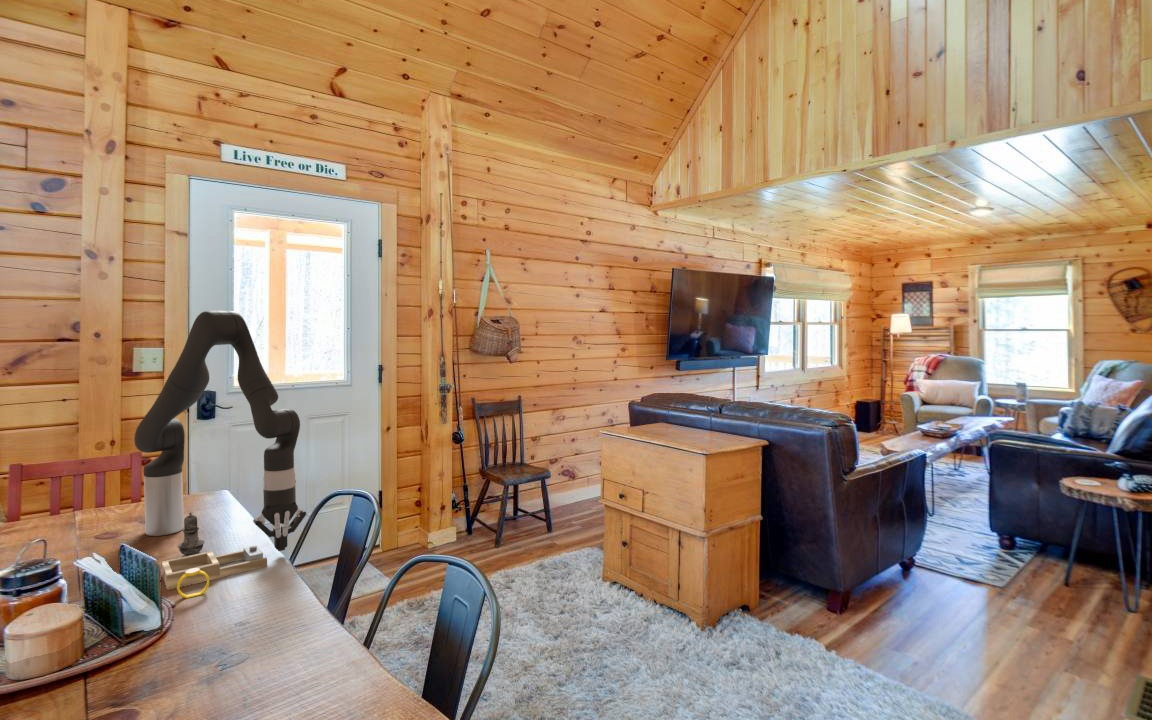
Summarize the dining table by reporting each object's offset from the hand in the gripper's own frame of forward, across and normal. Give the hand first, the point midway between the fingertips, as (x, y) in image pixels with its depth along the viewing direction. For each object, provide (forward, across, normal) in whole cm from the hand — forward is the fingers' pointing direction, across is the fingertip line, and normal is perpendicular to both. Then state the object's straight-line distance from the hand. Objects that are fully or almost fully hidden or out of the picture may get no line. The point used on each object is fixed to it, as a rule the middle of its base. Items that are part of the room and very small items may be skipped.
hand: (280, 549), depth 152 cm
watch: (+2, +21, +12) cm, 24 cm away
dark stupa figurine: (+2, +18, -14) cm, 23 cm away
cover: (+2, +6, 0) cm, 7 cm away
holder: (+2, +15, 0) cm, 15 cm away
